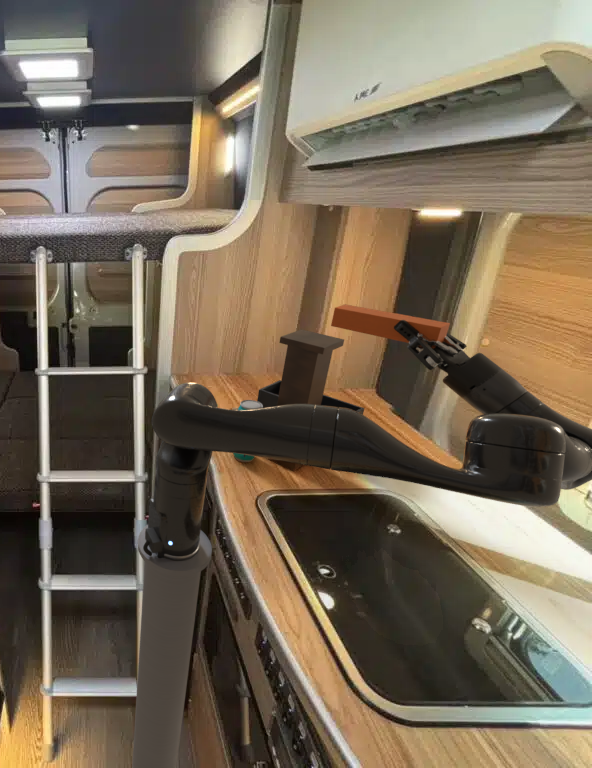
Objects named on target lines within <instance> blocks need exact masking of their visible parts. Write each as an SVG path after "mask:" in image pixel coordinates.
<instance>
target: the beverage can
mask: <svg viewBox="0 0 592 768" xmlns="http://www.w3.org/2000/svg"><path fill="white" fill-rule="evenodd" d="M239 404H240V405H239V406H238V408H237V410H253V409H261V408H263V405H262V404H261V403H260V402H258V401H257V400H254V399H244V400H241V401H240V403H239ZM232 454H233V457H234V459H235V460H236V461H239V462H241V463H250V462H253V460H254V459H255V457H256V456H250V455H245V454H238V453H232Z"/></svg>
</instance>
